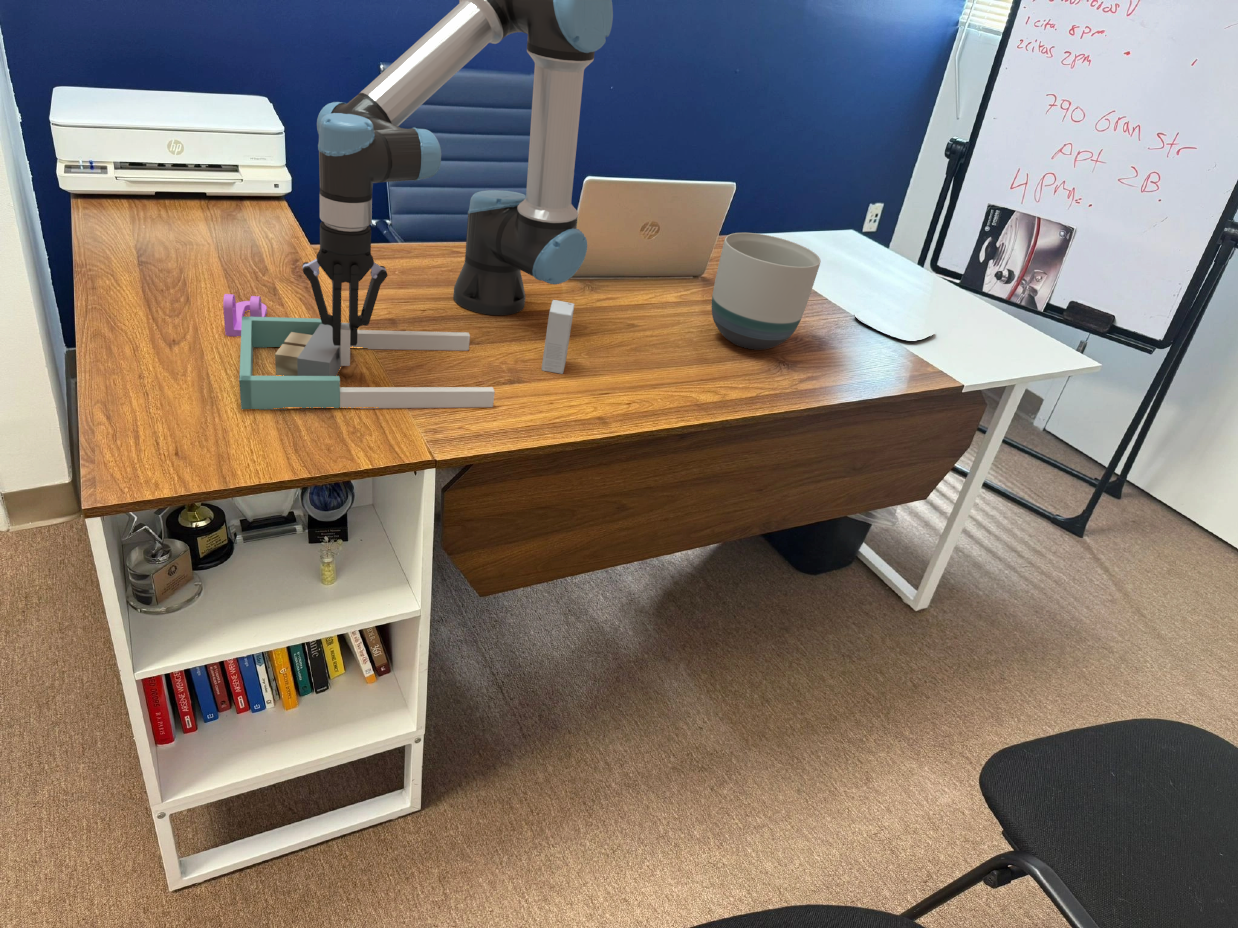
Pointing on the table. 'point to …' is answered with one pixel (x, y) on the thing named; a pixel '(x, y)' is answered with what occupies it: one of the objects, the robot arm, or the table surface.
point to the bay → (281, 388)
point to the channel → (415, 395)
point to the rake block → (319, 354)
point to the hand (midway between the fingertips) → (344, 362)
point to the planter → (761, 289)
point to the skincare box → (557, 336)
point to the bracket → (240, 312)
